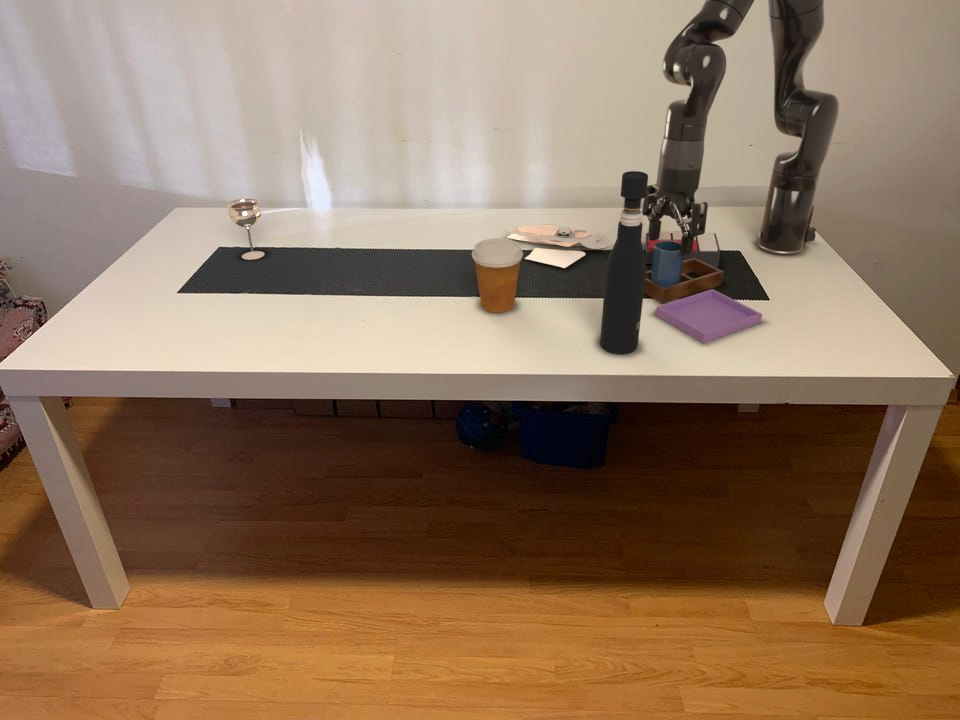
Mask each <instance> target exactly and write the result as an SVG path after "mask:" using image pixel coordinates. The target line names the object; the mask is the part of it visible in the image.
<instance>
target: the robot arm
mask: <svg viewBox="0 0 960 720" xmlns="http://www.w3.org/2000/svg"><path fill="white" fill-rule="evenodd" d="M754 2H755V0H705V1H704V3H703V5H702V7H701V9H700V10H699V11H698V13H697V14H696V15H694V16H693V18H691V20H690V21H689V22H688V23H687V24H686V25H685V26H684V27H683V28H682V30H680V31H679V33H678V34H677V35H676V36H675V37H674V38H673V40H672V41H671V42H670V44H669V45H668V47H667V48H666V51H665V53H664V55H663V59H662V74H663V76H664V78H665V79H666V81H667V82H669V83H672V84H674V85H678V86H683V87H690V91H689V93H688V95H687V97H686V98H685V99H684V98H683V99H676V100H674V101H672V102H670V104H668V106H667V109H666V115H665V122H664V132H663V138H662V142H661V146H660V151H659V159H658V166H657V167H658V168H657V175H656V176H657V177H656V183H653V184H650V185H647V192H646V197H645V198H643V203H642V208H641V212H642V213H641V214H642V216H646V217H647V220H648V232H647V233H648V236H649V240H651V241H654V240H658V239H659V237H660V231H662V230H661V228H662V220H661V219H662V218H664V216H665V217H669V218H671V219H673V220H675V222H676V225H677V226H678V227H679V228H680V231H682V234H683V236H682V238H681V245H680V252H679V253H680V254H681V255H687V254H690V252H691V251H692V249H693V243H694V237H695V236H698V235H702V234H704V233H705V232H706V226H707V217H708V208H709V204H708V202H707V201H703V202H699V201H696V198H695V194H696V192H697V190H698V189H699V187H700V180H701V173H702V167H703V162H704V161H703V160H704V153H705V137H706V132H707V124H708V117H709V114H710V111H711V109H712V106H713V104H714V101H715V99H716V97H717V94H718V91H719V89H720V87H721V84H722V83H723V80H724V78H725V75H726V72H727V71H726V70H727V55H726V53H725V51H724V49H723V48H722V46H720V45H719V44H716V43H714V42H718V41H722V40H728V39H730V38H732V37H733V36H734V35H735V34H736V33H737V31H738V30H739V28H740V26H741V25H742V23H743V22H744V20H745V18H746V16H747V14H748V13H749V11H750V9H751V7H752V6H753V4H754ZM767 7H768V8H767V9H768V10H767V11H768V21H769V30H770V36H771V46H772V47H771V48H772V58H773V59H772V60H773V61H772V62H773V76H774V77H773V80H774V82H773V119H774V124H775V127H776V130H777V131H779V132H780V133H781V134H783V135H786V136H790V137H794V138H798V139H800V140H801V141H800V143H799V146H798V149H796V150H791V151H785V152H781V153H779V154H778V155H776V157H775V159H774V161H773V167H772V171H771V175H770V182H769V187H768V193H767V196H766V201H765V207H764V212H763V217H762V222H761V226H760V228H759V230H758V240H757V247H758V248H759V249H761V251H762V250H763V251H765V252H767V253H769V254H775V255H780V256H790V255H797V254H799V253H801V252H802V251H803V249H804V248H805V247H806V243H809V242H815V240H816V231H817V228H816V227H813V226H811V222H812V217H813V213H814V209H815V206H814V205H813V204H814V200H815V196H816V191H817V186H818V183H819V178H820V174H821V170H822V166H823V164H824V163H825V160H826V159H827V155H828V153H829V150H830V145H831V141H832V139H833V135H834V132H835V128H836V125H837V121H838V117H839V114H840V113H839V111H840V103H839V99H838V97H837V96H836V95H835V94H834V93H833V94H832V93H829V92H825V91H821V90H820V91H819V90H813V89H807V88H806V86H805V81H804V67H805V64H806V61H807V59H808V57H809V55H810V54H811V53H812V51H813V49H814V48H815V46H816V44H817V42H818V41H819V40H820V37H821V35H822V33H823V30H824V27H825V0H767ZM685 217H686V218H685Z"/></svg>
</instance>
